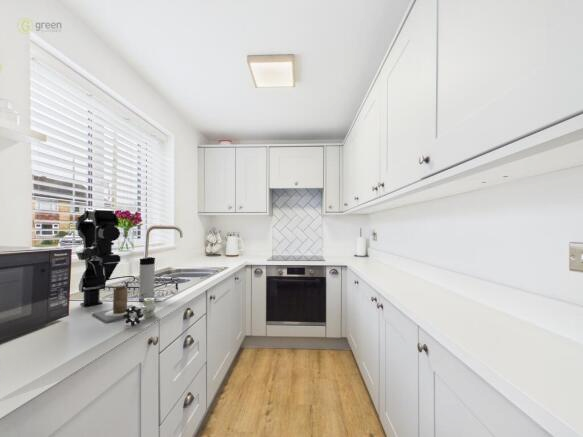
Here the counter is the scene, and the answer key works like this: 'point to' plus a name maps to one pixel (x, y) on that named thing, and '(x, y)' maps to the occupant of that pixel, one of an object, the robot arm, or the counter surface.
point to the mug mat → (111, 315)
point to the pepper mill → (120, 299)
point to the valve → (141, 311)
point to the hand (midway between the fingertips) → (102, 278)
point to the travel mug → (146, 278)
